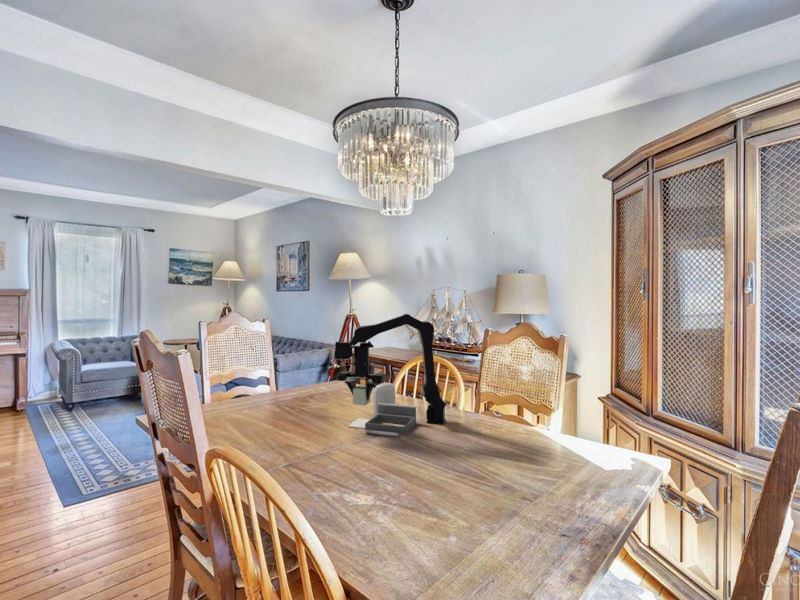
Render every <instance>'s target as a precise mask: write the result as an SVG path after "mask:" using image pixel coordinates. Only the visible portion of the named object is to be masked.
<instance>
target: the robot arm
mask: <svg viewBox="0 0 800 600" xmlns="http://www.w3.org/2000/svg"><path fill="white" fill-rule="evenodd" d="M405 325H406V326H409V327H411V328H413V329H415V330H416V331H417V333H418V338H419V341H420V343H421V349H422V360H423V371H424V382H423V383H420V386H421V392H420V394H421V395H422V396H423V398H424V399H425V400H426V402H427V403H428V406H427V409H425V410H426V423H427V424H437V425H443V424H444V423H445V422H446V420H447V419H446V404H447V402H445V400H444V399H443V398H442V397H441V394H440V390H439V387H438V384H437V381H436V373H435V363H434V361H435V360H434V352H433V351H434V350H433V342H434V336H435V335H434V334H435V326H434V325H433V323H431V322H429V321H427V320H423V321H421V320H419V319H418V318H415V317H413V316H412V315H410V314H408V313H403V314H402V315H399V316H396V317H393V318H391V319H388V320H385V321H381V322H378V323H375V324H368V325H361V326H358V327H356V328H355V330H354V331H353V332H354V333H353V336H352V337H351V338H350V340H349V341H335V343H334V344H335V345H334V360H350V358H351V357H353V362H352V366H353V373H352V371H347V370H342V371H341V372H338V373H337V375H336V380H337V381H339V382H344V384H346V385H347V386H348V388H349V391H350V392H351V394H352V396H353V388H355V387H357V382H358V380H361V381H362V380H363V381H365V380H366V381H368V382H366V383H365V384H366V385H365V386H366V391H367V400H369V398H370V399H371V395H372V392H373V390H374V389H373V388H375V387H374V386H375V385H376V384H382V383H386V381H387V375H386V373H383V372H382V373H380V372H377V373H375V369H376V368H375V366H374V365H372V364H371V360H370V349H371V348H372V349H373V348H375V347H374V345H373V343H372V342H371V341H370V340H371V339H373V338H374V337H375V336H377V335H379V334H382V333H385V332H388V331H391V330H393V329H397V328H400V327H402V326H405ZM366 341H367V342H366ZM358 344H359V345H358Z"/></svg>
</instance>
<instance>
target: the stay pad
mask: <svg viewBox="0 0 800 600" xmlns="http://www.w3.org/2000/svg"><path fill="white" fill-rule="evenodd" d="M369 420H370V419H369V418H359V417H358V418H357V419H355V420H354V421H353V422H351V423H349V424H348V425H347V427H348V428H354V429H363V430H365V423H366V422H368V421H369Z"/></svg>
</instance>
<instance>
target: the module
mask: <svg viewBox="0 0 800 600" xmlns="http://www.w3.org/2000/svg"><path fill="white" fill-rule="evenodd" d="M369 403H371V397H370V398H369V400H367V391H366V385H356V387H355V388H353V395H352V405H359V406H366V405H367V404H369Z"/></svg>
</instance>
